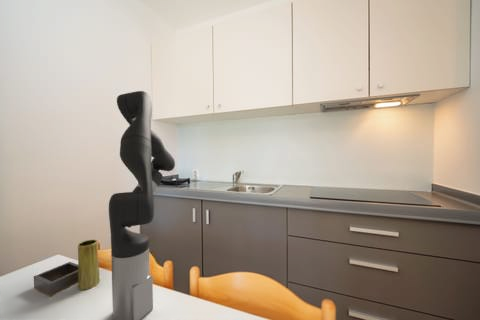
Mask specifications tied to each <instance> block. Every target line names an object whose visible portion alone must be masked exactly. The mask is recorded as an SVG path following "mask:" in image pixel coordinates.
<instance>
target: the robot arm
mask: <svg viewBox="0 0 480 320" xmlns="http://www.w3.org/2000/svg"><path fill="white" fill-rule="evenodd" d="M116 105H117V107H118V108H117V109H118V110H119V112H120V114H121V115H122V116H123V118H124V119H125V121H126V122H127V124H128V125H129V126H128V127H127V128H126V130H125V131H124V132H123V133H122V136H121V138H120V146H119V157H120V160H121V161H122V163H123V164H124V166H125V167H126V168H127V169H128V171H129V172H130V173H131V174H132V175H133V176H134V178H135V180H136V181H137V185H136V186H135V187H134V189H133V190H132V191H127V192H126V191H125V192H116V193H113V194H112V195H111V196H110V198H109V200H108V202H109V203H108V219H109V229H110V246H111V247H110V248H111V250H110V251H111V258H110V259H111V291H112V292H111V294H112V300H111V301H112V320H142V319H143V318H144V317H145V316H146V315H147V314H148V313H150V312H152V310H153V309H154V291H153V275H152V274H150V273H151V271H150V265H151V264H150V239H149V237H148V235H146V234H143V233H139V232H133V231H131V230H129V229H127V228H131V227H136V226H142V225H143V226H144V225H148V224H150V223H152V221H153V219H154V216H155V202H154V199H155V198H154V193H155V191H156V189H157V187H158V186H159V185H160V183H161V181H162V180H163V173H162V172H160V171H164V172H171V171H173V170H174V169H175V166H176V162H175V159H174V157H173V156H172V154H171V153H170V152H169V151H168V150H167V149H166V147H165V145H164V143H163V141H162V139H161V137H160V136H159V135H158V134H157V133H156V132H154V131H153V130H151V129H152V128H151V127H152V117H153V105H152V100H151V98H150V95H149V94H148V92H146V91H144V90H137V91H131V92H127V93H123V94H120V95H118V96H117V97H116Z"/></svg>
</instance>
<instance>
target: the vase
mask: <svg viewBox="0 0 480 320" xmlns="http://www.w3.org/2000/svg"><path fill="white" fill-rule="evenodd" d="M77 259H78V262H77V263H78V283H77V290H81V291H86V290H88V289H92V288H94V287H97V285H98V284H100V282H101V279H100V268H99V267H100V266H99V254H98V240H97V239H87V240H84V241H81V242H79V243H78V245H77Z"/></svg>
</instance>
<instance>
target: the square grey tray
mask: <svg viewBox="0 0 480 320" xmlns="http://www.w3.org/2000/svg"><path fill="white" fill-rule="evenodd" d="M75 285H78V264H77V263H75V262H72V261H69V262H66V263H64V264H61V265H58V266H56V267H54V268H53V267H52V268H51V269H49V270H46V271H43V272H41V273H38V274H36V275H33V289H34V290H36V291H38V292H40V293H42V294H44V295H46V296H48V297H49V298H51V297H53V296H55V295H57V294H59V293H61V292H63V291H65V290H67V289H68V288H69V289H70V288H71V287H73V286H75Z"/></svg>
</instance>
